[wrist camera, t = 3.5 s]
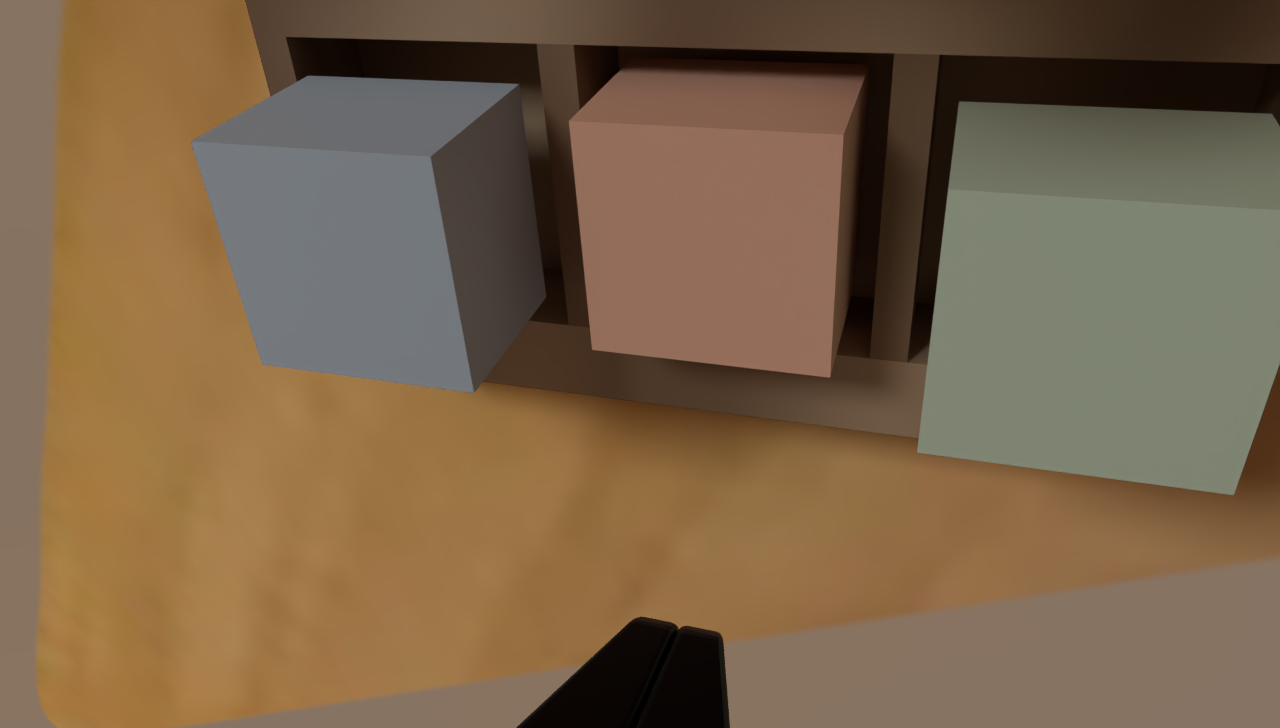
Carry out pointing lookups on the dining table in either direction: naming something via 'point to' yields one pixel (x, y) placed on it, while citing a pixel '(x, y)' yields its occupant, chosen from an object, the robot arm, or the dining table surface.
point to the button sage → (1107, 292)
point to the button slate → (380, 226)
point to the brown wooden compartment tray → (893, 146)
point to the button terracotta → (722, 209)
